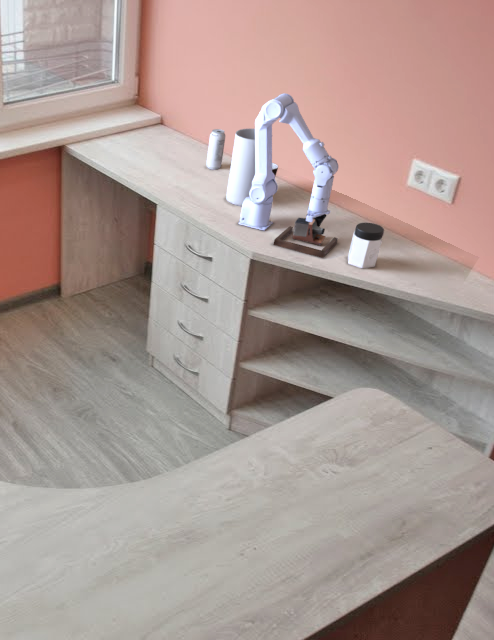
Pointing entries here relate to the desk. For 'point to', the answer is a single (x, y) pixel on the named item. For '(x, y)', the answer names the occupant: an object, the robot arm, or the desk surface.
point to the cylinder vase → (241, 167)
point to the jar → (365, 245)
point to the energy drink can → (215, 149)
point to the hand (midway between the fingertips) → (312, 234)
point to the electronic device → (308, 231)
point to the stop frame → (300, 248)
